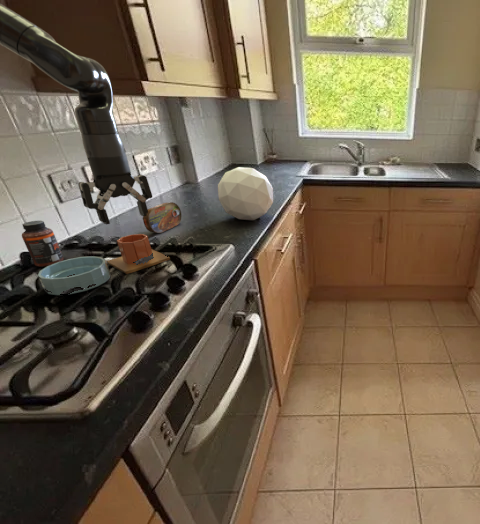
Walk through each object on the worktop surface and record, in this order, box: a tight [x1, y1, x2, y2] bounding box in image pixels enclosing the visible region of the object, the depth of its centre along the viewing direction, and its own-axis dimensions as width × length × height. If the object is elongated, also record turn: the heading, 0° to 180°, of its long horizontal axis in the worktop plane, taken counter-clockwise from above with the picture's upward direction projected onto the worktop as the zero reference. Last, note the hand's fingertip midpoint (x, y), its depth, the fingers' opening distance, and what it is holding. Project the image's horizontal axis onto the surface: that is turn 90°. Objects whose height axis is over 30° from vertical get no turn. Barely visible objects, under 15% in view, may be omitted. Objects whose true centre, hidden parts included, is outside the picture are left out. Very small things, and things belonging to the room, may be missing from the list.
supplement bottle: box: [21, 220, 65, 268], centre depth 86 cm, size 6×6×11 cm
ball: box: [217, 166, 274, 221], centre depth 123 cm, size 19×20×20 cm
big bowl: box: [37, 255, 111, 296], centre depth 78 cm, size 12×12×4 cm
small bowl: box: [116, 233, 152, 264], centre depth 89 cm, size 6×6×6 cm
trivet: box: [106, 248, 171, 275], centre depth 90 cm, size 11×11×1 cm
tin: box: [142, 201, 182, 234], centre depth 113 cm, size 15×3×8 cm, turn 171°
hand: (125, 219), depth 85 cm, fingers open, 8 cm apart
